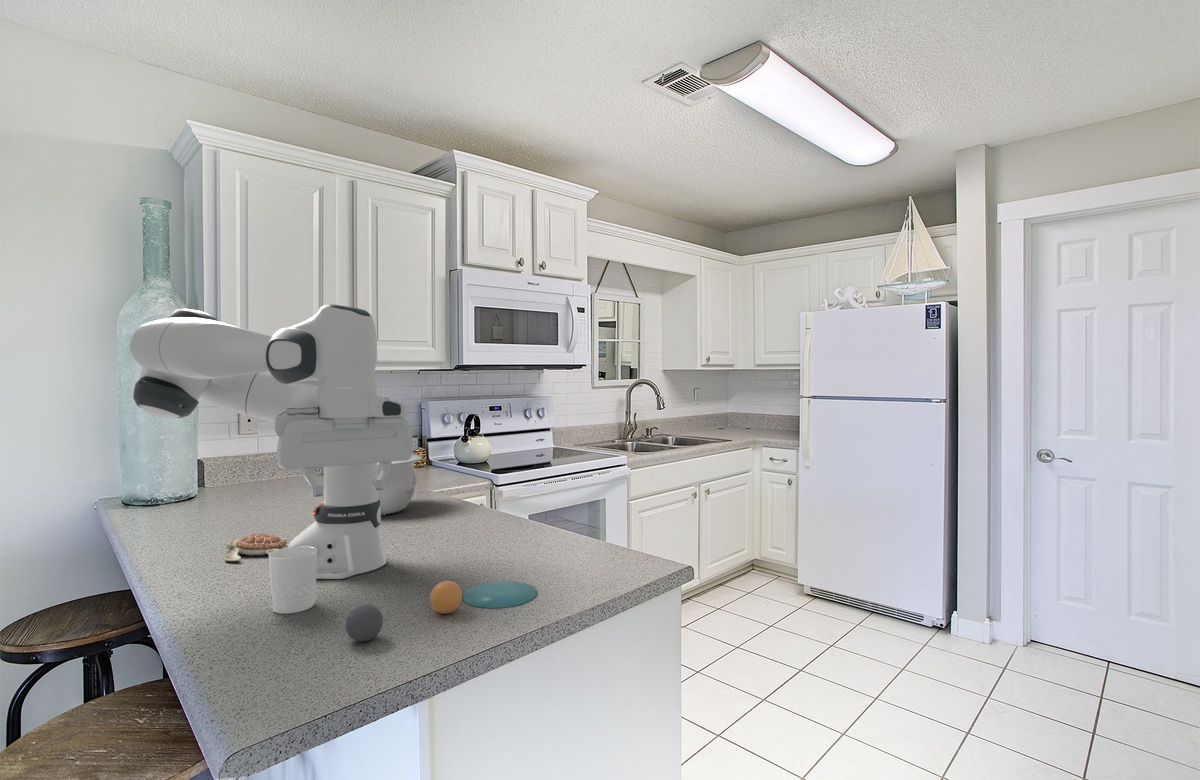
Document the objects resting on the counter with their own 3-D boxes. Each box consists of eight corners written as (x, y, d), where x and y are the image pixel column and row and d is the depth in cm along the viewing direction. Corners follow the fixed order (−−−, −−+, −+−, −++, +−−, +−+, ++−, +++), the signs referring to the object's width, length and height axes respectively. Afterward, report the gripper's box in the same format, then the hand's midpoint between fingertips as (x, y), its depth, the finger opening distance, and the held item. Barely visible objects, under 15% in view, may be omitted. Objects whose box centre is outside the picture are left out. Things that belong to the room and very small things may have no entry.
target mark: (493, 614, 105) (493, 613, 105) (447, 595, 115) (447, 594, 115) (552, 593, 116) (552, 592, 116) (505, 577, 125) (505, 576, 125)
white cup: (281, 600, 113) (280, 546, 113) (324, 598, 113) (324, 545, 113) (261, 616, 105) (260, 559, 105) (308, 614, 106) (307, 557, 105)
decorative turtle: (252, 543, 155) (252, 524, 155) (313, 545, 153) (313, 525, 153) (198, 565, 137) (198, 543, 137) (267, 567, 135) (266, 544, 135)
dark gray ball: (341, 648, 92) (341, 613, 92) (350, 634, 97) (350, 600, 97) (379, 646, 93) (378, 610, 93) (386, 631, 98) (386, 598, 98)
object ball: (427, 619, 103) (427, 587, 103) (432, 607, 109) (431, 577, 108) (460, 617, 104) (460, 585, 104) (463, 606, 109) (463, 575, 109)
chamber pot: (405, 522, 176) (405, 451, 175) (312, 522, 176) (311, 451, 176) (433, 502, 204) (433, 441, 203) (352, 503, 204) (352, 441, 204)
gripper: (279, 408, 88) (279, 503, 88) (416, 405, 100) (417, 488, 100) (271, 407, 93) (271, 497, 93) (403, 404, 105) (403, 484, 105)
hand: (348, 492), depth 97 cm, fingers open, 8 cm apart
